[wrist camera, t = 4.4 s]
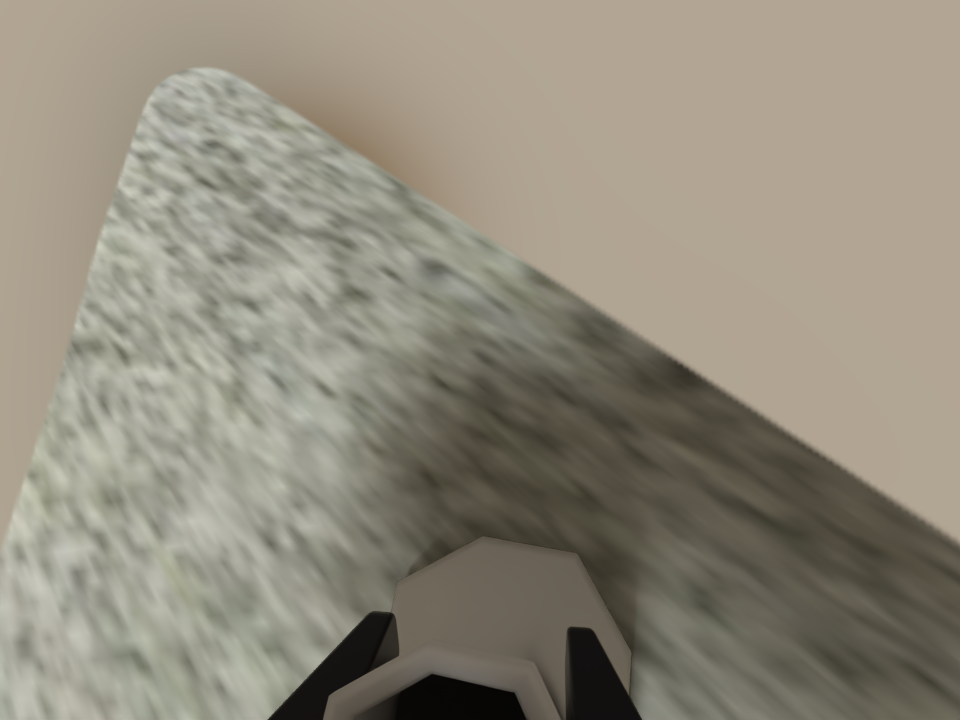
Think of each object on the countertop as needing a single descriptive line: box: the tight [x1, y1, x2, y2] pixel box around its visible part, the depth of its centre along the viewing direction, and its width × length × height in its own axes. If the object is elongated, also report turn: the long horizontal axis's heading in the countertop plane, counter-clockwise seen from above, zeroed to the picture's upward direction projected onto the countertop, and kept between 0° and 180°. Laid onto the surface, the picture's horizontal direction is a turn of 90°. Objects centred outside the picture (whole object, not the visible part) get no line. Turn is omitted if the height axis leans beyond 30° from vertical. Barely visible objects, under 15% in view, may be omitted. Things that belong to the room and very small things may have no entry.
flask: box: [323, 536, 632, 720], centre depth 10 cm, size 7×7×10 cm
